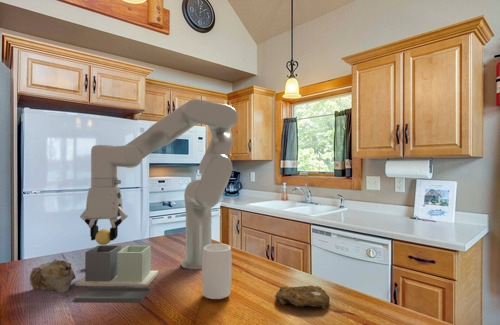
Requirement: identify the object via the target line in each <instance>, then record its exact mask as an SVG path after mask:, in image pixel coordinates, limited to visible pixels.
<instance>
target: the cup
mask: <svg viewBox="0 0 500 325" xmlns="http://www.w3.org/2000/svg"><path fill="white" fill-rule="evenodd" d="M232 257H233V256H232V247H231V246H230V245H229V244H226V243H211V244H210V245H207V246H205V247H204V248H203V258H202V270H201V279H202V280H201V281H202V282H201V283H202V295H203V296H204V297H205V298H207V299H211V300H221V299H225V298H227V297H228V296H230V294H231V290H232V276H233V275H232V272H233V271H232V269H233V268H232V267H233V262H232V261H233V260H232Z"/></svg>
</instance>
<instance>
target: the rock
mask: <svg viewBox="0 0 500 325" xmlns="http://www.w3.org/2000/svg"><path fill="white" fill-rule="evenodd" d="M76 278H77V277H76V274H75V272H74V271H73V267H72V263H70V262H68V261H66V260H64V259H63V260H60V259H58V260H57V259H55V258H54V259H53V261H51V262H50V261H49V262H46V263H43V264H40V265H38V267H37V266H36V267H34V268H32V270H31V272H30V274H29V282H30V286H31V287H32V289H33V290H41V291H56V292H58V293H65V292H69V290H70V288H71V285H70V284H71V283H72V281H73V280H75V279H76Z"/></svg>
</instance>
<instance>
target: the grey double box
mask: <svg viewBox="0 0 500 325" xmlns="http://www.w3.org/2000/svg"><path fill="white" fill-rule="evenodd" d="M151 248H152V247H151V245H126V246H125V247H123V248H122V245H120V244H119V245H118V244H117V245H116V244H113V245H111V244H109V245H108V244H106V245H100V244H97V245H96V246H94V247H92V248H91V249H89V250H87V251H85V254H84V257H85V258H84V259H85V262H84V266H85V267H84V270H85V271H84V272H85V273H84V274H85V275H84V277H82V278H81V279H79V280H78V281H76V282H75V284H74V285H75V286H76V287H77V286H79V287H149V285H150V284H151V282H152V281H153V280H154V279H155V278H156V277H157V275H158V274H159V270H151V264H152V263H151V256H152V255H151V252H152V251H151V250H152V249H151ZM75 286H74V287H75Z"/></svg>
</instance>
